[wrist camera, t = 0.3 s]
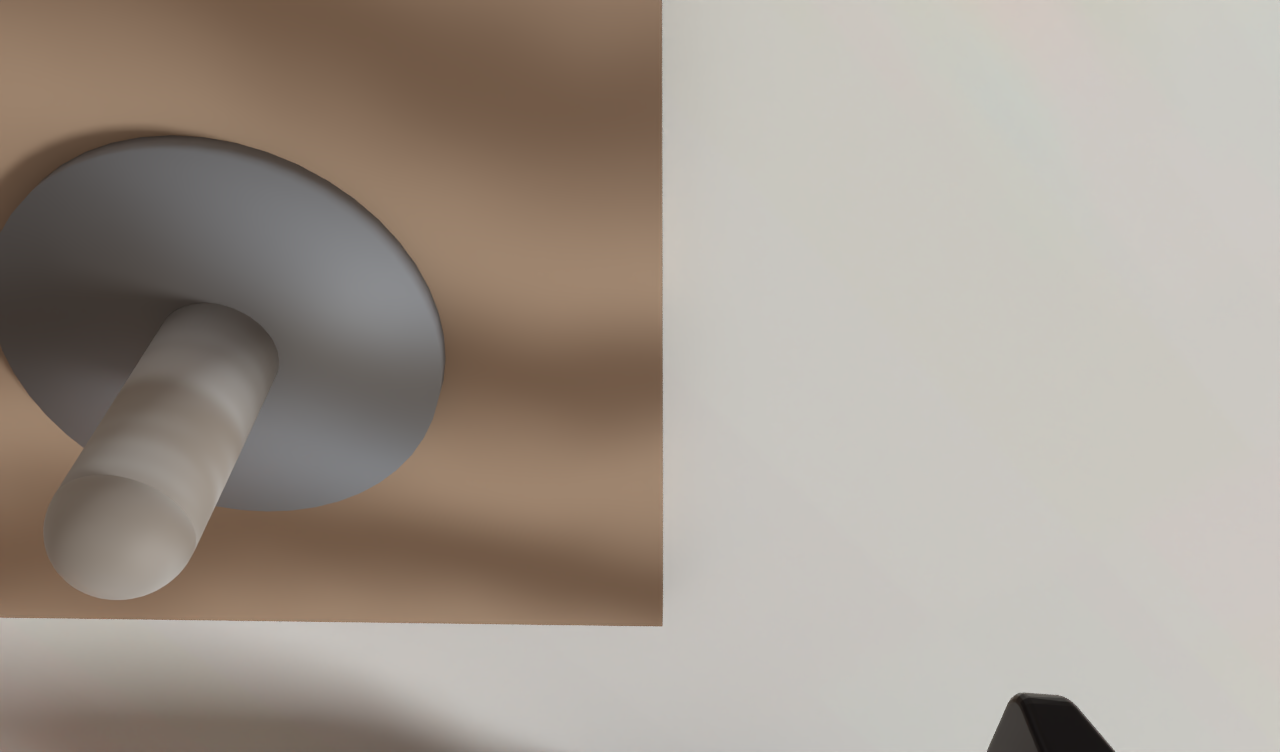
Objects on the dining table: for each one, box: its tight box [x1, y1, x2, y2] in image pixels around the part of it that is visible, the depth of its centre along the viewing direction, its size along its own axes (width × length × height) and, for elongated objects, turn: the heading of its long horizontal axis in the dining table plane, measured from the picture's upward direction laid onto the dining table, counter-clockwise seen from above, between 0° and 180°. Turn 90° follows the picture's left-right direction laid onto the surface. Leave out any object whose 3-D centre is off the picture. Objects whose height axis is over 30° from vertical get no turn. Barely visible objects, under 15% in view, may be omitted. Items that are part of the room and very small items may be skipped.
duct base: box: [0, 0, 663, 626], centre depth 21 cm, size 18×18×8 cm
